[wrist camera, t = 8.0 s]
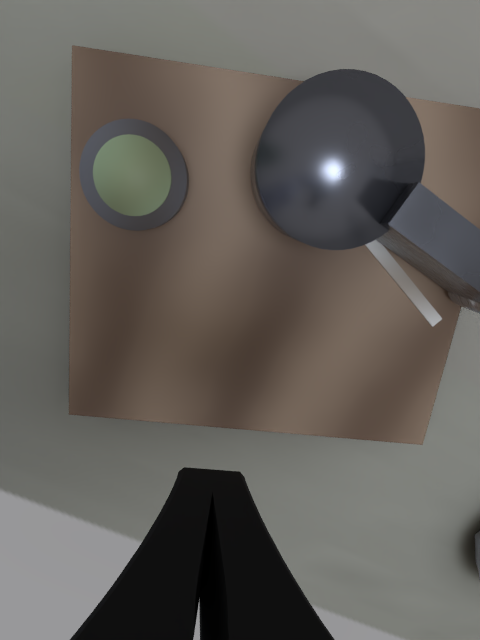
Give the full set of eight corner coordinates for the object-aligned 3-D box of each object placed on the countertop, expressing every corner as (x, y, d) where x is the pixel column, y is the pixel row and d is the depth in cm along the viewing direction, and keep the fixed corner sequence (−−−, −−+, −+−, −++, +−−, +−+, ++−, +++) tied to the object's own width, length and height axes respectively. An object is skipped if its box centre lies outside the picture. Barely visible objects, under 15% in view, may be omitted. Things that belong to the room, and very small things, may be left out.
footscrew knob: (224, 193, 15) (225, 188, 11) (302, 66, 14) (331, 16, 10) (443, 344, 17) (503, 381, 13) (526, 243, 16) (616, 254, 12)
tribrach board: (76, 403, 18) (56, 431, 16) (82, 56, 14) (56, 27, 12) (412, 432, 19) (437, 462, 17) (497, 119, 16) (543, 104, 13)
